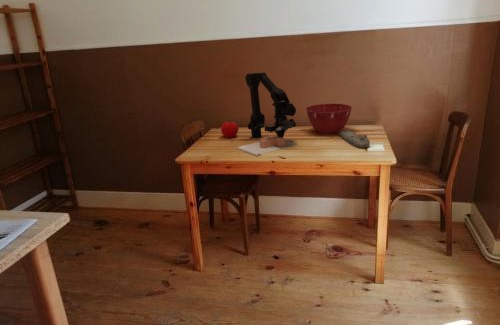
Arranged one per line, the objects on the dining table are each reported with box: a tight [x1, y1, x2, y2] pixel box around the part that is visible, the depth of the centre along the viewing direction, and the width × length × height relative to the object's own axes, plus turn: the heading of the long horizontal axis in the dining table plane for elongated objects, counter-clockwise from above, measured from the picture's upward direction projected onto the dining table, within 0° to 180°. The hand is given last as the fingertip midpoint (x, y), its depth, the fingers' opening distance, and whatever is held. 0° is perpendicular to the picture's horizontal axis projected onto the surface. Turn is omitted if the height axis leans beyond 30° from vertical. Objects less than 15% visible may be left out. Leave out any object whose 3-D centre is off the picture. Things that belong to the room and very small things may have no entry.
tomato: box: [220, 120, 239, 139], centre depth 246 cm, size 11×13×10 cm
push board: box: [236, 139, 298, 157], centre depth 219 cm, size 20×29×1 cm
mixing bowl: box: [305, 103, 353, 135], centre depth 243 cm, size 28×28×16 cm
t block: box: [259, 134, 286, 148], centre depth 218 cm, size 12×12×4 cm
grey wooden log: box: [338, 129, 371, 149], centre depth 222 cm, size 35×5×10 cm
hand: (281, 140), depth 222 cm, fingers closed
